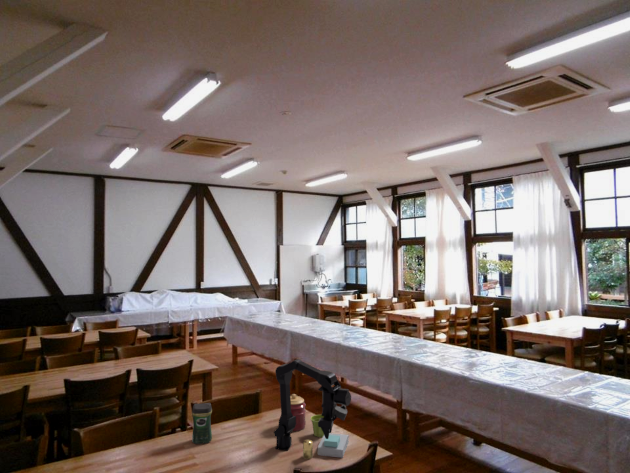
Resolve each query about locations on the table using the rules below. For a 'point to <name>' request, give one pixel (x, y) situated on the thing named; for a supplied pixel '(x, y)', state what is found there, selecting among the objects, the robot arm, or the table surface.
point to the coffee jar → (201, 423)
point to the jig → (334, 451)
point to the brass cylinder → (307, 449)
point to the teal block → (332, 441)
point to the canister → (298, 411)
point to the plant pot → (316, 429)
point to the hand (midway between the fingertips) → (328, 435)
